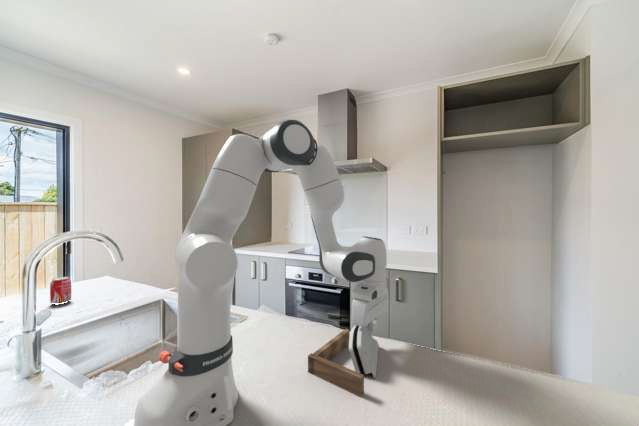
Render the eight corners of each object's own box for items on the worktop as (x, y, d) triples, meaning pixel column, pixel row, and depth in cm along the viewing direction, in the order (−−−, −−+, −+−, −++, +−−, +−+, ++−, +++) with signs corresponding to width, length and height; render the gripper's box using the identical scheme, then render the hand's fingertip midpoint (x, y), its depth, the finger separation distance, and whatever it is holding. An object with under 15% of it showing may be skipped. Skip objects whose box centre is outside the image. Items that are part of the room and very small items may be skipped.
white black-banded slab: (375, 378, 66) (362, 341, 67) (358, 381, 68) (345, 344, 68) (379, 345, 82) (368, 315, 83) (365, 348, 84) (354, 318, 84)
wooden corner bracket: (361, 397, 60) (361, 378, 60) (307, 372, 69) (307, 355, 69) (390, 358, 76) (390, 343, 76) (344, 341, 85) (344, 328, 85)
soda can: (50, 303, 121) (50, 278, 121) (71, 299, 126) (71, 275, 126) (49, 307, 116) (49, 281, 116) (71, 303, 121) (70, 278, 120)
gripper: (376, 278, 92) (376, 316, 92) (348, 293, 75) (348, 339, 76) (393, 281, 88) (393, 320, 89) (367, 297, 72) (367, 346, 72)
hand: (372, 329), depth 82 cm, fingers closed
